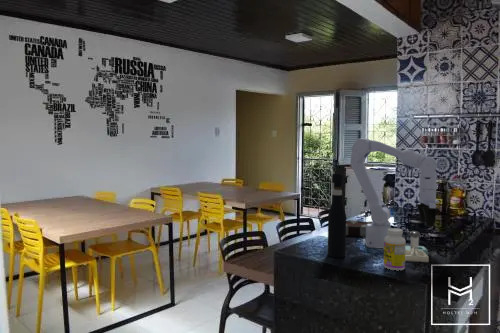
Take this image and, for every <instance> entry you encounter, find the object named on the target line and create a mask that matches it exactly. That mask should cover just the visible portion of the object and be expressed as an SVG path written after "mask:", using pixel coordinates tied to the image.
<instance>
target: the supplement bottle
mask: <svg viewBox="0 0 500 333" xmlns="http://www.w3.org/2000/svg"><path fill="white" fill-rule="evenodd" d="M403 230H404V229H401V228H397V227H396V228H393V227H390V228H389V229H388V230H387V233H388V236H386V237H385V239H384V248H383V267H384V268H385V269H386V268H387V270H389V269H390V271H394V270H396V272H397V271H398V272H399V270H400V271H403V270H404V269H405V268H406V261H405V246H407V244H406V242H407V241H406V239H405V238H404V237H403V233H404V232H403Z"/></svg>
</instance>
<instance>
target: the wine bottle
mask: <svg viewBox="0 0 500 333" xmlns="http://www.w3.org/2000/svg"><path fill="white" fill-rule="evenodd" d="M331 176H332V178H331V179H332V180H331V183H332V184H333V190H332V194H331V195H332V196H331V204H330V208H329V210H328V214H327V215H328V217H327V256H328V255H329V256H328V257H330V256H333V257H332V258H335V257H342V258H345V257H346V256H345V255H346V254H347V252H346V251H347V250H346V249H347V248H346V247H347V246H346V244H347V236H346V221H347V214H346V209H345V206H344V202H343V198H344V197H343V196H344V195H343V190H342V184H343V183H344V173H332V174H331ZM344 256H345V257H344Z"/></svg>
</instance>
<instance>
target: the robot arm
mask: <svg viewBox="0 0 500 333" xmlns="http://www.w3.org/2000/svg"><path fill="white" fill-rule="evenodd" d="M350 150H351V153H350V166H351V168H352V171H353V173H354V175H355V177H356V179H357V181H358V183H359V185H360V187H361V188H360V189H361V190H362V192H363V195H364V196H365V198H366V201H367V202H368V203H367V204H368V207H369V211H370V213H371V214H370V218H371V221H372V223H371V224H366V237H365V240H364V241H365V242H364V243H365V245H366V247H367V248H370V249H371V248H372V249H373V248H375V249H384V239H385V237H386V236H388V233H387V230H388V229H389V228H391V222H390V218H391V217H392V216H391V215H392V212H391V210H390V208H389V207H388V206H387V205H386V204H385V202H384V201H383V200H382V198H381V197H380V195H379V193H378V191H377V188H376V186H375V184H374V182H373V180H372V177H371V175H370V173H369V172H368V170H367V168H366V167H367V166H366V165H365V162H366V159H367V157H368V156H369V155H370V154H371V153H372V152H373V153H374V152H376V153H377V152H381V153H383V154H386V155H389V156H392V157H394V158H398V159H399V161H400V163H401V164H403V165H404V164H405V165H407V166H409V167H412V168H414V169H420V176H419V195H418V197H419V198H418V202H419V203H416V205H415V206H416V208H417V210H418V212H419V213H418V214H419V218H420V222H421V223H423V224H424V223H425V225H426V227H430V228H431V227H434V223H435V221H436V217H437V215H438V214H439V211H440V208H438V207H437V206H436V205H437V203H440V201H439V200H437V171H436V170H437V168H438V164H437V160H436V159H434V158H433V157H432V156H427V154H426V153H423V154H422V153H419V152H416V151H414V149H413V148H410V149H409V148H406V149H404V150H402V149H399V148H396V147H394V146H391V145H388V144H386V143H384V142H381V141H378V140H372V139H368V138H363V137H362V138H357V139H356V140H354V142H353V145H352V146H351V149H350ZM436 207H437V208H436Z"/></svg>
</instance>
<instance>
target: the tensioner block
mask: <svg viewBox="0 0 500 333" xmlns="http://www.w3.org/2000/svg"><path fill="white" fill-rule="evenodd" d="M410 246H411V245H406V246H405V250H410ZM418 251H423V252H424V253H425V254H426V255H427V256H428V255H429V254H428V253H429V252H428V251H429V250H428V249H427V248H426V247H425V246H424V245H423V246H421V245H418Z"/></svg>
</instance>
